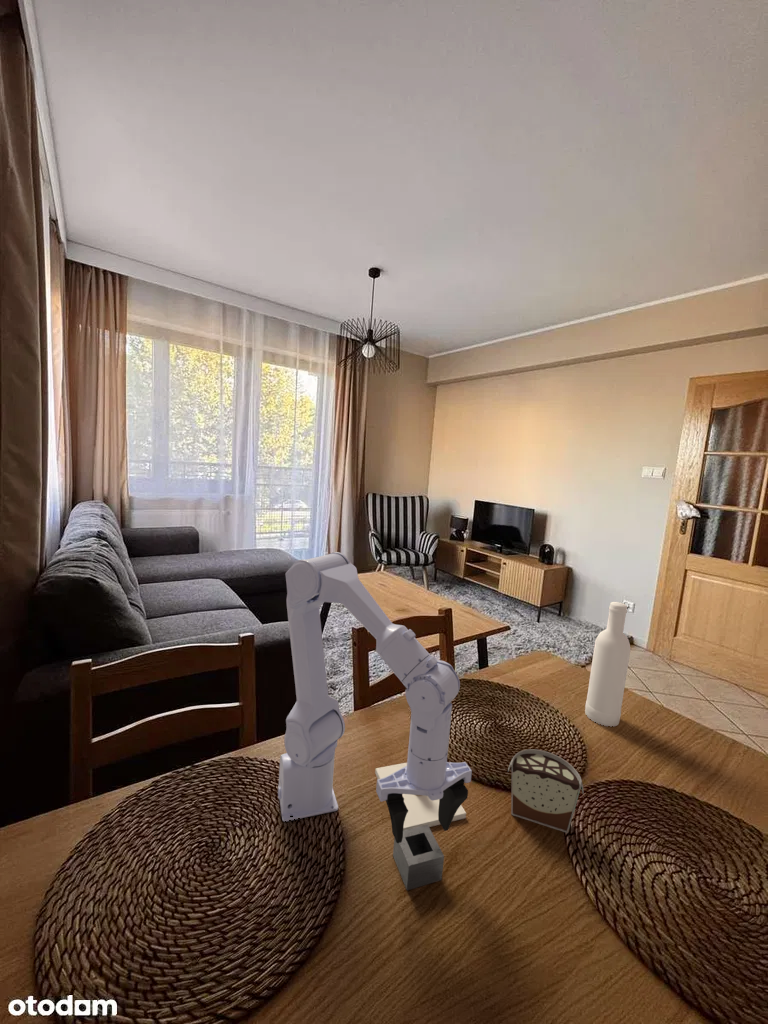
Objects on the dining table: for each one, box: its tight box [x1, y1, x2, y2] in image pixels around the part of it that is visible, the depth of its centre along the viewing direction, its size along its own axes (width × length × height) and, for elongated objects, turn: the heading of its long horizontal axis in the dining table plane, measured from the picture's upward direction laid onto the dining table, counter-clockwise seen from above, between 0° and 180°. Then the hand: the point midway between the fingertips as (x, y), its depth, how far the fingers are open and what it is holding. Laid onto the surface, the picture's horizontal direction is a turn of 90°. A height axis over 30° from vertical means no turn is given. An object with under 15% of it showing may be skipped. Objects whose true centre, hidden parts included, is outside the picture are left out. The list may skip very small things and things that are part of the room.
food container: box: [507, 748, 585, 834], centre depth 76 cm, size 12×6×10 cm, turn 71°
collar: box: [392, 825, 445, 891], centre depth 64 cm, size 6×6×4 cm
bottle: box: [584, 601, 632, 728], centre depth 106 cm, size 8×8×30 cm
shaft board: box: [374, 762, 467, 830], centre depth 78 cm, size 12×14×6 cm
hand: (420, 831), depth 64 cm, fingers open, 7 cm apart
